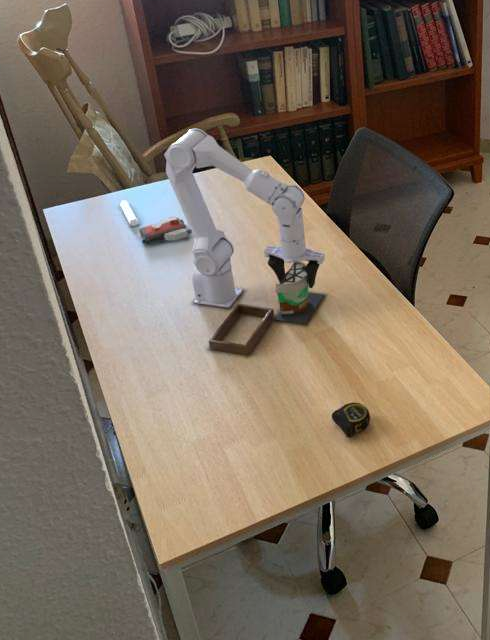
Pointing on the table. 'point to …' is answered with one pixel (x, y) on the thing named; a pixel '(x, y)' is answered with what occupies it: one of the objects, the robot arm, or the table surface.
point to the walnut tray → (239, 309)
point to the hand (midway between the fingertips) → (297, 283)
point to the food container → (293, 290)
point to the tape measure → (352, 418)
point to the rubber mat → (304, 316)
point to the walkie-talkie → (164, 231)
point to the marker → (129, 213)
